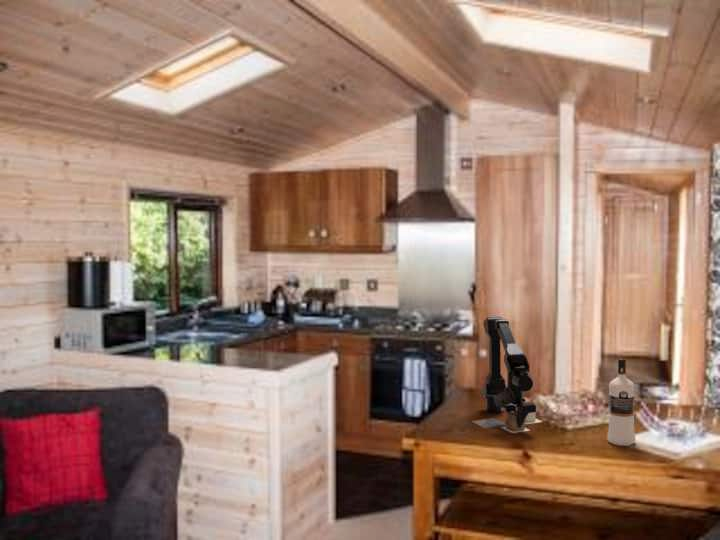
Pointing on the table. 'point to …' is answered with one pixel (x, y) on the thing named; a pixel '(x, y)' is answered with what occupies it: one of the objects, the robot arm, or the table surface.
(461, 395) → the table surface
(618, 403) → the vodka
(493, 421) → the slate coaster
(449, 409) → the table surface
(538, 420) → the code tile
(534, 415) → the beige block
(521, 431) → the cream glyph tile
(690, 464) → the table surface
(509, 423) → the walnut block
